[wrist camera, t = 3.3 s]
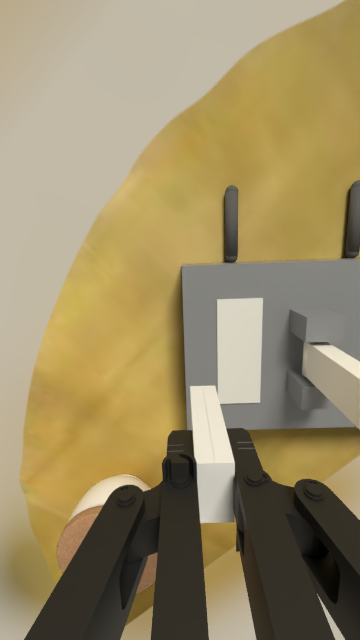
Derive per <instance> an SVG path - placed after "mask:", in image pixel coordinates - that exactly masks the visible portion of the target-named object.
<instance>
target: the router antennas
mask: <svg viewBox="0 0 360 640" xmlns="http://www.w3.org/2000/svg"><path fill="white" fill-rule="evenodd" d="M359 248H360V180H358V181H356V182H354V183H353V184H352V186H351V192H350V203H349V215H348V226H347V237H346V249H345V255H346V256H347V257H348V258H355V257H356V256H358V254H359ZM237 254H238V189H237V187H235V186H233V185H231V186H229V187H227V189H226V191H225V258H226V260H227V261H228V262H230V263H232V262H235V261H236V260H237Z"/></svg>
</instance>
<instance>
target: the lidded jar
mask: <svg viewBox="0 0 360 640" xmlns="http://www.w3.org/2000/svg"><path fill="white" fill-rule="evenodd" d="M124 485H135V486H138V487H139V488H140V489H142V490H143V492H144V491H147V490H150V489H151V488H150V487H149V486H148V485H147V484H146V483H144V482H143V481H142V480H141V479H140V478H138V477H136V476H133V475H129V474H119V475H115V476H112V477H108V478H105V479H103V480H101V481H99V482H98V483H96V484H95V485H94V486H92V487H91V488H90V489H89V490H88V491H87V492H86V493H85V494H84V496H83V497H82V498H81V500H80V501H79V502H78V504H77V506H76V507H75V509H74V511H73V513H72V515H71V517H70V519H69V521H68V523H67V525H66V526H65V528H64V530H63V532H62V534H61V536H60V539H59V542H58V545H57V559H58V563H59V566H60V569H61V570H62V572H63V573H64V571H65V570H66V568H67V566H68V565H69V563H70V561H71V560H72V558H73V556H74V554H75V553H76V551H77V549H78V548H79V546H80V544H81V543H82V541H83V539H84V538H85V536H86V534H87V532H88V531H89V529H90V527H91V526H92V524H93V522H94V521H95V519H96V517H97V516H98V514H99V512H100V510H101V509H102V507H103V505H104V504H105V502H106V500H107V499H108V497H109V495H110V494H111V493H112V492H113V491H114V490H115V489H117V488H118V487H120V486H124ZM157 554H158V552H157V553H155V554H152V555H149V556H148V559H147V563H146V566H145V568H144V571H143V574H142V577H141V580H140V583H139V586H138V589H137V592H136V594H138V593H141V592H142V591H144V590H146V589H147V588H148V587H150V586H151V585H152V584H153V583H154V582H155V580H156V567H157Z"/></svg>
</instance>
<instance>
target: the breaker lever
mask: <svg viewBox="0 0 360 640" xmlns="http://www.w3.org/2000/svg"><path fill="white" fill-rule="evenodd" d="M302 375H303V376H305V377H307V378H308V379H309V380H310V381H311V382H312V383H313V384H314V385H315V386H316V387H317V388H318V389H319V390H320V391H321V392H322V393H323V394H324V395H325V396H326V397H327V398H328V399H329V400H330V401H331V402H332V403H333V404H334V405H335V406H336V407H337V408H338V409H339V410H340V411H341V412H342V413H343V414H344V415H345V416H346V417H347V418H348V419H349V420H350V421H351V422H352V423H353V424H354V425H355V426H356V427H357V428H358V429H359V430H360V362H359V361H358V360H356V359H355V358H353V357H351V356H350V355H348V354H346V353H345V352H343V351H341V350H340V349H338V348H336V347H335V346H333V345H331V344H330V343H328V342H308V343H305V342H304V349H303V365H302Z"/></svg>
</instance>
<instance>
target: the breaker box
mask: <svg viewBox="0 0 360 640" xmlns="http://www.w3.org/2000/svg"><path fill="white" fill-rule="evenodd" d="M182 291H183V320H184V350H185V379H186V409H187V430H191V402H190V386H214V385H215V387H216V391H217V395H218V399H219V403H220V407H221V411H222V414H223V418H224V422H225V426H226V428H244V429H245V430H262V429H298V428H334V427H356V426H355V425H354V424H353V423H352V422H351V421H350V420H349V419H348V418H347V417H346V416H345V415H344V414H343V413H342V412H341V411H340V410H339V409H338V408H337V407H336V406H335V405H334V404H333V403H332V402H331V401H330V400H329V399H328V398H327V397H326V396H325V395H324V394H323V393H322V392H321V391H320V390H319V389H318V388H317V387H316V386H315V385H314V384H313V383H312V382H311V381H310V380H309V379H308V378H307V377H305V376H303V375H302V365H303V349H304V342H305V343H308V342H328V343H330V344H331V345H333V346H335V347H336V348H338V349H340V350H341V351H343V352H345V353H346V354H348V355H350V356H351V357H353V358H355V359H356V360H358V361H359V362H360V258H340V259H313V260H285V261H257V262H232V263H202V264H182Z"/></svg>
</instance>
